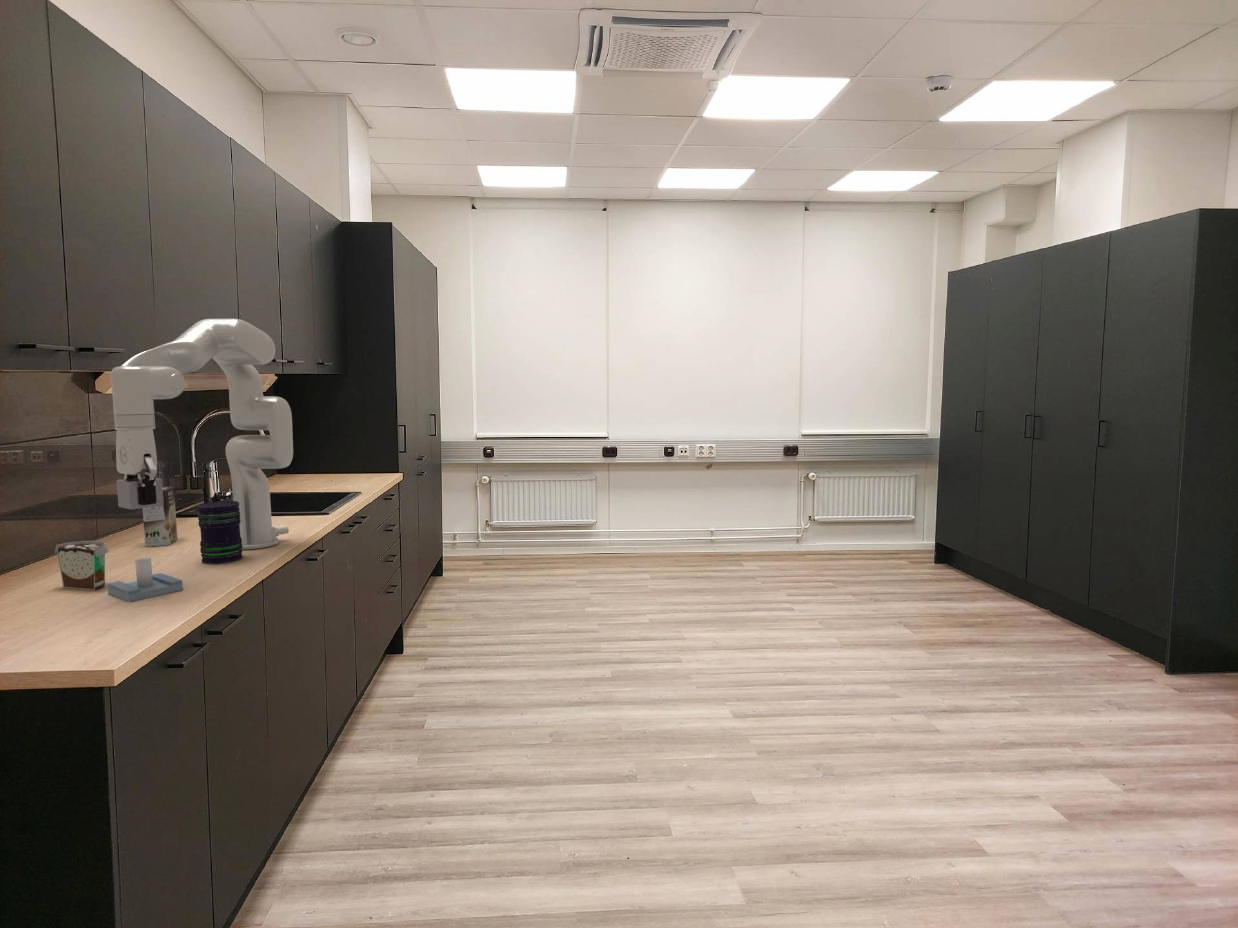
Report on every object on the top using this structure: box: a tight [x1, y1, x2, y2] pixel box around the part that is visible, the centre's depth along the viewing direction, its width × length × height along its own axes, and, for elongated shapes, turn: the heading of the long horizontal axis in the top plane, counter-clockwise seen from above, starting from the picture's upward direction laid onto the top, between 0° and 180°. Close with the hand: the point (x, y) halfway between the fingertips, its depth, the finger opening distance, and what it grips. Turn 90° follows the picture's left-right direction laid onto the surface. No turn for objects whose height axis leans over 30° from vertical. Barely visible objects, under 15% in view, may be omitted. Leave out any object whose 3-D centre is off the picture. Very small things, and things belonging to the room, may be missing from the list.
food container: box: [54, 540, 109, 591], centre depth 174 cm, size 12×6×10 cm, turn 74°
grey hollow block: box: [116, 476, 164, 510], centre depth 168 cm, size 7×7×6 cm
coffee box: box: [142, 486, 178, 547], centre depth 219 cm, size 9×6×16 cm
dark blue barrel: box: [197, 500, 244, 565], centre depth 198 cm, size 10×10×15 cm
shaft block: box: [106, 557, 184, 603], centre depth 169 cm, size 11×11×8 cm
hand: (141, 502), depth 168 cm, fingers closed on grey hollow block, 6 cm apart
